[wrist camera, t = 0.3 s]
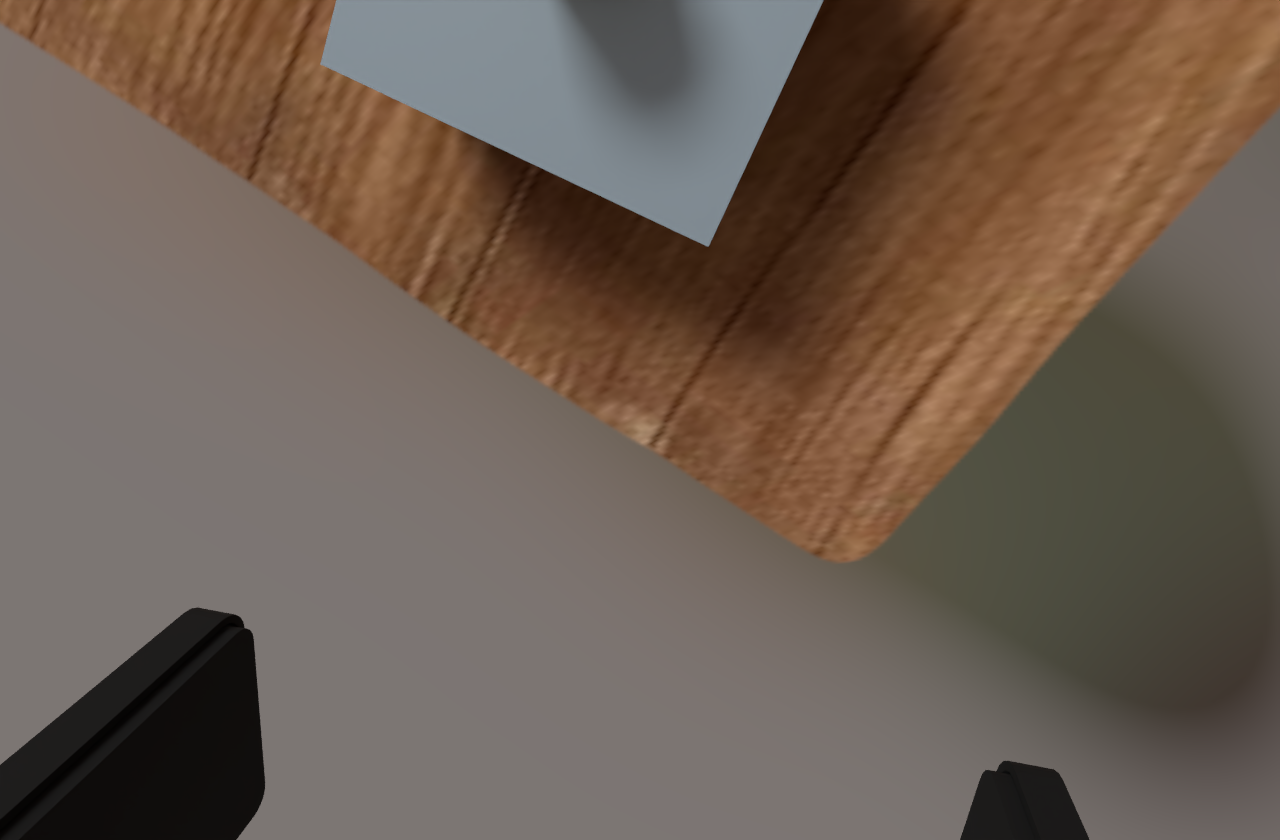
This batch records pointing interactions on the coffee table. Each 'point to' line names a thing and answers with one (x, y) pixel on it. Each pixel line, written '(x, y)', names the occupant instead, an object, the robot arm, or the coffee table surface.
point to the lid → (591, 86)
